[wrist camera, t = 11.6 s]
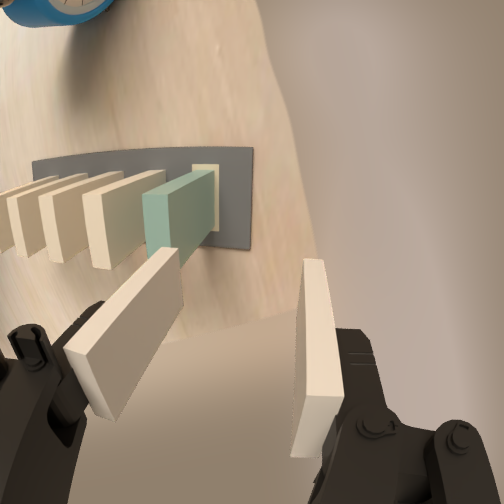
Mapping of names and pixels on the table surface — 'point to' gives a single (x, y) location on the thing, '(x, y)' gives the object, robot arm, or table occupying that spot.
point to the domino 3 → (69, 216)
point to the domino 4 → (118, 217)
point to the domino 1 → (3, 236)
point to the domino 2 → (33, 215)
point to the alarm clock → (53, 11)
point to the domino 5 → (179, 213)
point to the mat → (176, 165)
